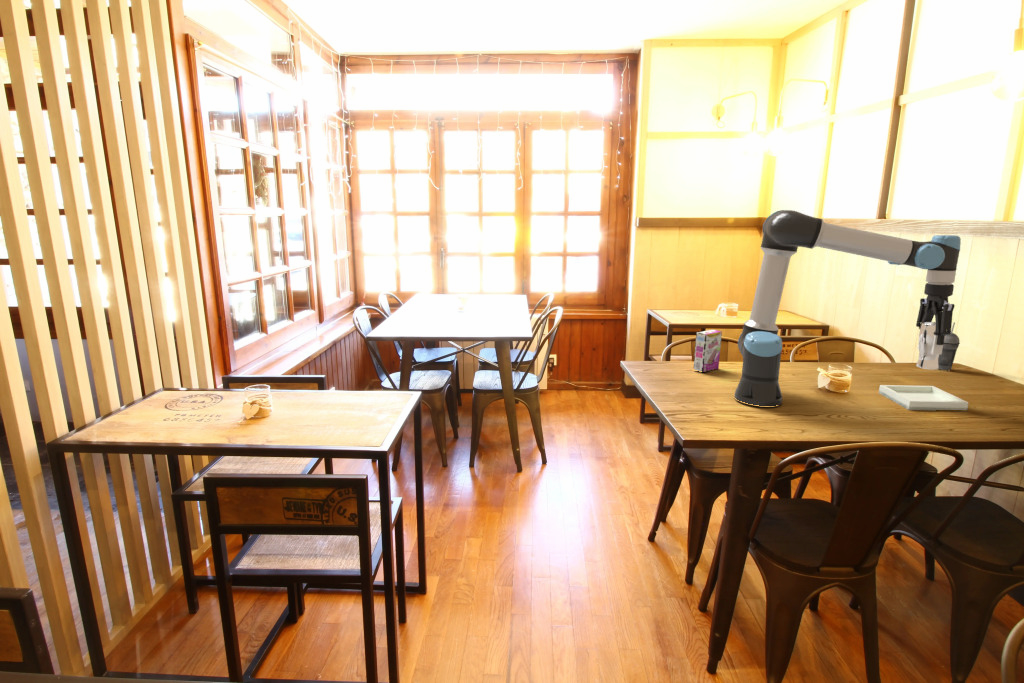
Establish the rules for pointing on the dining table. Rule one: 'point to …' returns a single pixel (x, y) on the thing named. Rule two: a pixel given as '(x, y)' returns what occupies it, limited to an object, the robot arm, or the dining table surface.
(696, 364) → the candy bar box
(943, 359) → the beverage cup
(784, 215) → the robot arm
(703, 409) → the dining table surface
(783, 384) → the dining table surface
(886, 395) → the tray
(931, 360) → the beer glass
